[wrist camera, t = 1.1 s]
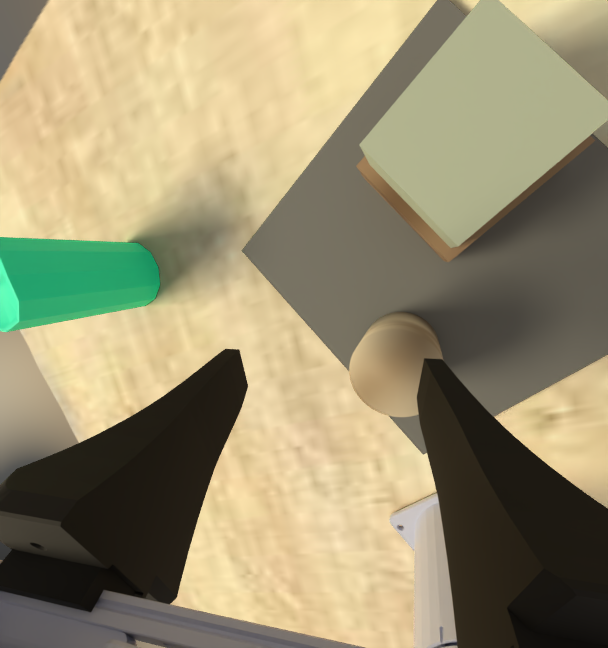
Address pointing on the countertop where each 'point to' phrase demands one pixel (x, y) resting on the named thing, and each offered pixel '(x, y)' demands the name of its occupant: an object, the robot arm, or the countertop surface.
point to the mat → (437, 275)
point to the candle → (71, 280)
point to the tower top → (482, 123)
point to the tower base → (427, 231)
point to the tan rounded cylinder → (393, 363)
